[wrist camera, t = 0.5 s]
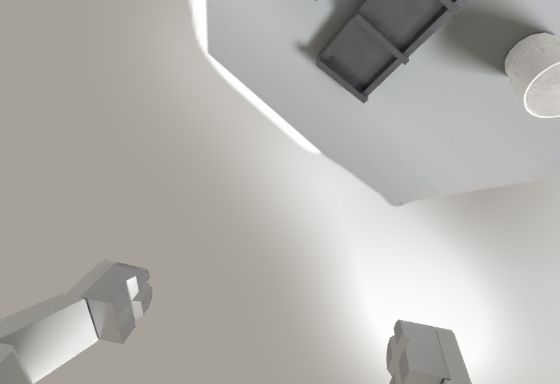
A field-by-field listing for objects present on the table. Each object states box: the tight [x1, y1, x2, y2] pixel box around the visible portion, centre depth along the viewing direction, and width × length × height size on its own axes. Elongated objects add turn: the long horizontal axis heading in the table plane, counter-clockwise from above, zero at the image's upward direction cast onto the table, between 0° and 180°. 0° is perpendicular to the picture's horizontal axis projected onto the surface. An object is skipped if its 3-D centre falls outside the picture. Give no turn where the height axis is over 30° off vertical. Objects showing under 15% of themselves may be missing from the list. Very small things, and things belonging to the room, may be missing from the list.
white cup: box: [505, 32, 560, 118], centre depth 42 cm, size 8×8×10 cm
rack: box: [316, 0, 467, 103], centre depth 42 cm, size 25×10×6 cm, turn 145°
